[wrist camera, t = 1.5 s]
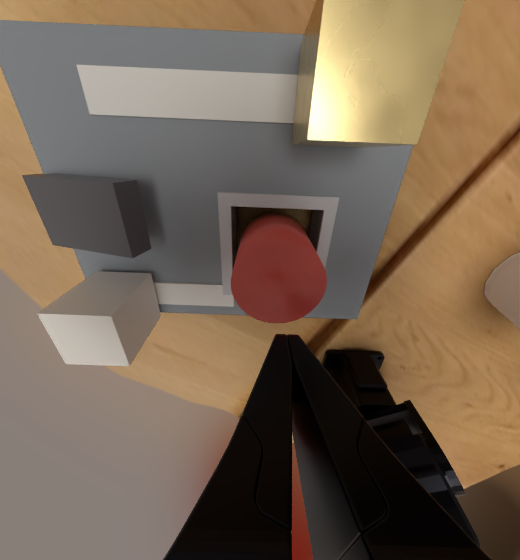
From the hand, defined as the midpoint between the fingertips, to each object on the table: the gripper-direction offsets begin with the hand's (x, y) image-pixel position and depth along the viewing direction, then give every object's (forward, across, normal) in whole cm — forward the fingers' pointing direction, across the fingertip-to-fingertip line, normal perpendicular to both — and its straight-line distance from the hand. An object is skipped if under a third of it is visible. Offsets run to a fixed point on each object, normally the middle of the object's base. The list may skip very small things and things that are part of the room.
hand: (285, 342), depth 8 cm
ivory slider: (+9, +11, +4) cm, 14 cm away
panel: (+12, +4, -2) cm, 13 cm away
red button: (+10, 0, 0) cm, 10 cm away
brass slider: (+9, -3, -8) cm, 12 cm away
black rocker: (+7, +11, -2) cm, 13 cm away
